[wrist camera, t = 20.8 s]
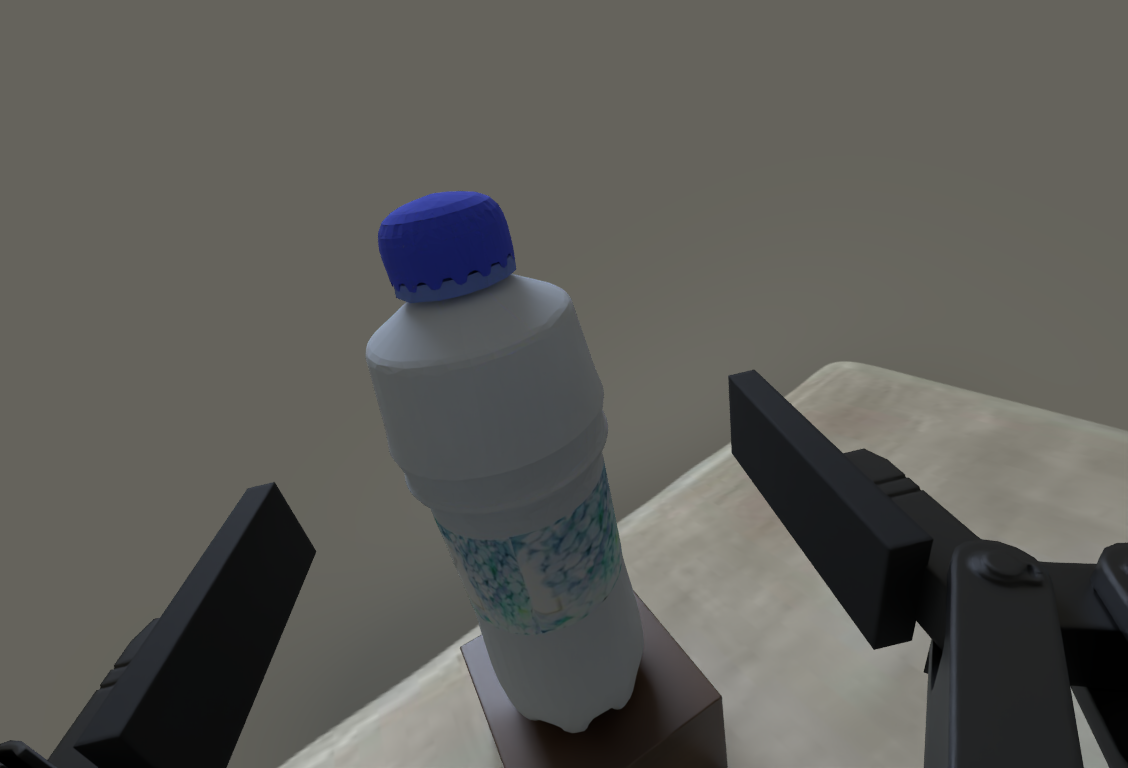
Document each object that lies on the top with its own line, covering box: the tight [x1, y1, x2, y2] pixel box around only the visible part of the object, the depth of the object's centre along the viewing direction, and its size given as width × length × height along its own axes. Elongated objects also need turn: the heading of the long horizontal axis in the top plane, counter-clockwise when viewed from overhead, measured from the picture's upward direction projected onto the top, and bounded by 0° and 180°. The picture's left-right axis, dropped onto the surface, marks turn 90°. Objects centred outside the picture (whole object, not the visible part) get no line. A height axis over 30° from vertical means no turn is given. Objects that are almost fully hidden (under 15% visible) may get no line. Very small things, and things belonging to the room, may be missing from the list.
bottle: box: [366, 191, 644, 733], centre depth 17 cm, size 7×7×20 cm
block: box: [460, 590, 728, 768], centre depth 23 cm, size 8×8×6 cm
